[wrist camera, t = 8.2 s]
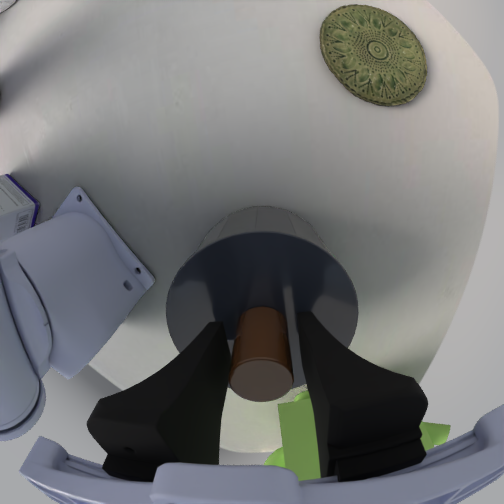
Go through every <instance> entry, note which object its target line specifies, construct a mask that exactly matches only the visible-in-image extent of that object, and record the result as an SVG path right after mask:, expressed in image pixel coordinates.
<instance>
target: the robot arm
mask: <svg viewBox="0 0 504 504" xmlns="http://www.w3.org/2000/svg"><path fill="white" fill-rule="evenodd" d="M80 196H81V197H82V201H81V200H80ZM137 268H139V269H140V270H141V272H138V271H137ZM154 282H155V279H154V277H153V275H152V274H151V273H150V272H149V271H148V270H147V269H146V267H145V266H144V265H143V264H142V263H141V262H140V261H139V259H138V258H137V257H136V256H135V255H134V254H133V252H132V251H131V250H130V249H129V248H128V247H127V245H126V244H125V243H124V242H123V241H122V239H121V238H120V237H119V236H118V234H117V233H116V232H115V231H114V230H113V228H112V227H111V226H110V225H109V223H108V222H107V221H106V220H105V218H104V217H103V216H102V214H101V213H100V212H99V211H98V209H97V208H96V207H95V205H94V204H93V203H92V201H91V200H90V199H89V197H88V196H87V195H86V193H85V192H84V191H83V189H82V188H81V187H79V186H78V187H74V188H73V189H72V190H71V192H70V193H69V195H68V196H67V197H66V199H65V200H64V202H63V203H62V204H61V206H60V207H59V209H58V210H57V212H56V213H55V215H54V216H53V218H52V219H50V220H48V221H46V222H43V223H41V224H39V225H36V226H34V227H32V228H29V229H27V230H25V231H23V232H21V233H18V234H16V235H14V236H12V237H10V238H8V239H6V240H4V241H2V242H0V441H8V440H12V439H15V438H18V437H20V436H22V435H24V434H25V433H26V432H28V431H29V430H30V429H31V428H32V427H33V426H34V425H35V424H36V422H37V421H38V420H39V418H40V417H41V415H42V412H43V410H44V406H45V401H46V393H45V388H44V385H43V383H42V380H41V378H43V376H44V375H45V374H46V373H47V371H48V370H49V369H50V366H51V367H52V368H54V369H55V370H56V371H57V372H59V373H60V374H61V375H63V376H64V377H65V378H67V379H71V378H72V377H74V376H75V375H76V374H77V373H78V372H79V371H80V370H81V369H82V368H84V367H85V366H86V365H87V364H88V363H89V362H90V361H91V359H92V358H93V357H94V356H95V355H96V354H97V353H98V352H99V351H100V349H101V348H102V347H103V346H104V345H105V344H106V342H107V341H108V340H109V339H110V338H111V336H112V335H113V334H114V332H115V331H116V330H117V328H118V327H119V326H120V324H121V323H122V322H123V321H124V320H125V318H126V317H127V315H128V314H129V313H130V311H131V310H132V309H133V307H134V306H135V305H136V303H137V302H138V301H139V300H140V298H141V297H142V296H143V294H144V293H145V292H146V291H147V290H148V289H149V288H150V287H151V286H152V285H153V284H154ZM297 321H298V333H299V346H300V354H301V362H302V368H303V372H304V376H305V380H306V384H307V388H308V392H309V395H310V399H311V403H312V408H313V413H314V420H315V428H316V437H317V445H318V455H319V465H320V476H321V478H318V479H311V480H303V481H298V476H297V475H296V474H295V473H294V472H293V471H292V470H290V469H287V468H283V467H279V466H274V465H219V445H220V429H221V418H222V411H223V407H224V402H225V397H226V392H227V387H228V375H229V369H230V362H231V353H230V349H229V345H228V341H227V337H226V333H225V329H224V325H223V321H216V322H209V323H208V324H207V325H206V326H205V327H204V329H203V330H202V331H201V332H200V333H199V334H198V335H197V336H196V337H195V339H194V340H193V341H192V342H191V343H190V344H189V345H188V346H187V347H186V348H185V349H184V350H183V351H182V352H181V353H180V354H179V355H178V356H177V357H175V358H174V359H173V360H172V361H171V362H170V363H168V364H167V365H166V366H165V367H163V368H162V369H161V370H159V371H158V372H156V373H155V374H153V375H152V376H150V377H148V378H147V379H145V380H143V381H142V382H140V383H138V384H136V385H134V386H132V387H130V388H128V389H126V390H124V391H121V392H119V393H116V394H113V395H111V396H108V397H105V398H102V399H100V400H99V401H98V403H97V405H96V406H95V408H94V410H93V412H92V414H91V415H90V417H89V419H88V421H87V427H88V430H89V432H90V434H91V435H92V436H93V438H94V439H95V440H96V441H97V442H98V443H99V445H100V446H101V447H102V448H103V449H104V450H105V451H106V452H107V454H108V455H107V457H106V459H105V462H104V464H103V465H101V464H97V463H94V462H91V461H87V460H84V459H82V458H78V457H76V456H73V455H70V454H68V453H67V452H66V450H65V449H64V448H63V447H62V446H61V445H59V444H58V443H56V442H54V441H52V440H49V439H47V438H44V437H42V436H39V438H38V439H37V441H36V443H35V444H34V446H33V448H32V450H31V451H30V453H29V454H28V456H27V458H26V460H25V461H24V463H23V465H22V467H21V469H20V470H19V473H20V474H21V475H22V476H23V477H24V478H25V479H27V480H28V481H29V482H30V483H31V484H33V485H34V486H35V487H36V488H38V489H39V490H40V491H41V492H43V493H44V494H45V495H47V496H48V497H49V498H51V499H52V500H54V501H56V502H58V503H60V504H457V503H459V502H461V501H462V500H464V499H466V498H468V497H469V496H471V495H473V494H475V493H476V492H478V491H479V490H481V489H483V488H484V487H486V486H487V485H489V484H491V483H492V482H494V481H495V480H497V479H498V478H500V477H501V476H502V475H503V473H504V404H503V405H501V406H499V407H497V408H496V409H494V410H492V411H491V412H489V413H487V414H485V415H484V416H483V417H481V418H480V419H479V420H478V422H477V423H476V425H475V426H474V429H473V430H472V431H469V432H467V433H465V434H463V435H461V436H459V437H457V438H455V439H453V440H450V441H448V442H446V443H443V444H441V445H439V446H436V447H434V448H431V449H429V450H426V451H425V449H424V446H423V444H422V441H421V439H420V438H421V437H422V432H421V430H420V427H419V426H420V424H421V422H422V419H423V417H424V415H425V412H426V410H427V407H428V400H427V398H426V396H425V394H424V392H423V390H422V389H421V387H420V386H419V384H418V383H417V382H416V381H415V379H414V378H413V377H409V376H405V375H402V374H398V373H395V372H392V371H389V370H387V369H384V368H381V367H379V366H377V365H375V364H373V363H371V362H369V361H367V360H365V359H363V358H361V357H360V356H358V355H356V354H355V353H354V352H352V351H351V350H349V349H348V348H347V347H345V346H344V345H343V344H342V343H341V342H339V341H338V340H337V339H336V338H335V337H334V336H333V335H332V334H331V333H330V332H329V331H328V330H327V329H326V328H325V327H324V326H323V325H322V324H321V322H320V321H319V320H318V319H317V318H316V316H315V315H314V314H313V313H312V312H311V311H307V312H300V313H297Z"/></svg>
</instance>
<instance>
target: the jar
mask: <svg viewBox="0 0 504 504" xmlns="http://www.w3.org/2000/svg"><path fill="white" fill-rule="evenodd" d="M15 1H16V0H0V13H1V12H3V11H4V10H6V9H7V8H9V7H10V6H11V5H13V3H14V2H15Z"/></svg>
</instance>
